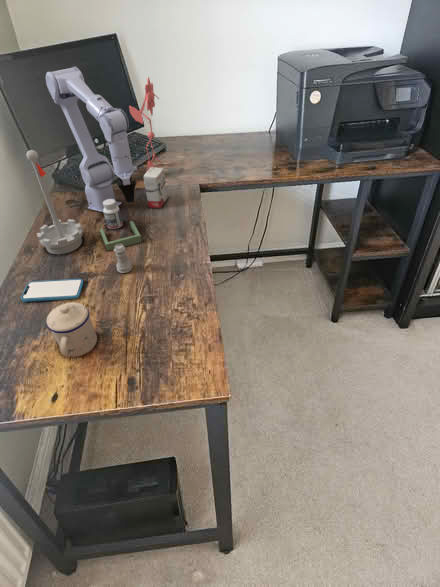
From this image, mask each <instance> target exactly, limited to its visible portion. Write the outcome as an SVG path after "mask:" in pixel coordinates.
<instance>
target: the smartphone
mask: <svg viewBox="0 0 440 587" xmlns="http://www.w3.org/2000/svg"><path fill="white" fill-rule="evenodd" d="M83 286H84V280H83V278H68V279H51V280H49V279H48V280H35V281H33V280H32V281H29V282H28V283H27V284H26V286H25V288H24V291H23V292H22V294H21V296H20V299H21V301H22V302H24V303H25V302H26V303H27V302H29V303H30V302H43V301H45V302H46V301H62V300H77V299H78V298H80V295H81V292H82V288H83Z"/></svg>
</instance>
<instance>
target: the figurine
mask: <svg viewBox="0 0 440 587" xmlns="http://www.w3.org/2000/svg"><path fill="white" fill-rule="evenodd" d="M146 81H147V82H146V83H145V84H144V91H145V92H144V98H143V102H142V105H141V108H140V110H138V109H137V108H136V107H135V106H132V105H129V106H128V110H129V113H130V115H131V117H132V118H133V119H134V121H135V122H138V123H139V124H141V125H144V118H143V116H144V117H145V118H146V119H147V120H148V121H149V122H148V123H149V128H150V131H149V132H147V138H148V139H149V140H148V141H147V144H146V145H145V149H146V153H147V158H148V161H147V169H146V172H147V171H148V170H149V169H150V167H156V166H155V165H154V164H153V161H154V159H156V160H157V161H158V162H159V164H161V165H163V163H162V162H161V161H160V160H159V158H158V157H157V156H156V154H155V150H154V146H153V143H152V140H153V139H154V138H155V133H154V132H153V128H152V120H151V118H150V117H148V116H147V115H146V114H145V113H144V110H145V105H146V111H148V112H149V113H150V115H151V116H153V115H154V114H153V113H154V108H155V106H156V102H155V97H156V98H157V100H160V98H159V97H158V95H156V94H155V92H154V84H153V82H151V79H150V77H149V76H148V77H147V79H146ZM149 144H150V146H151V149H152V152H153V153H151V154H152V157H151V159H150V154H149V150H148V146H149ZM172 162H173V163H175V161H174V160H173V161H172ZM176 164H177V165H179V162H178V163H177V162H176ZM181 170H182V168H180V169H179V171H178V173H180V172H181ZM146 172H145V173H146ZM178 173H177V174H175V176H177V175H178ZM139 182H140V183H143V181H142V180H141V181H139Z"/></svg>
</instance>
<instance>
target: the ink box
mask: <svg viewBox="0 0 440 587" xmlns="http://www.w3.org/2000/svg"><path fill="white" fill-rule="evenodd" d="M146 171H147V170H146ZM143 183H144V188H145V194H146V199H147V205H148V208H153V209H162V207H163V206H164V204H165V202H166V201H167V199H168V191H167V183H166V176H165V169H164V167H158V166H157V167H156V166H155V167H150V168H149V170H148V171H147V172H145V173H144V175H143Z"/></svg>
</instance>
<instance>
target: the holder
mask: <svg viewBox="0 0 440 587" xmlns="http://www.w3.org/2000/svg"><path fill="white" fill-rule="evenodd" d="M129 224H130V229H131V231H132V232H133V234H134V235H130V236H126V237H123V238H119V239H114V240H111V241H108V237H107V235H106V234H105V231H104V229H103V227H102V228H99V231H100V236H101V238H102V241H103V243H104V246H105V249H106V251H107V252H109V251H112V250H113V251H114V248H115V247H114V246H116V245H117V244H118V245H120V244H121V245H122V244H123V245H124V247H128V246H131V245H135V244H139V243H142V242H143V240H142V235H141V234H140V232H139V230H138V228H137V227H136V224H135V222H134V220H130V221H129Z"/></svg>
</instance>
